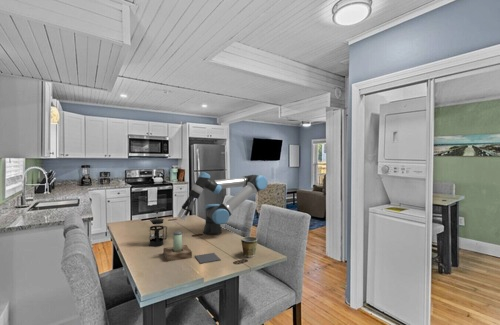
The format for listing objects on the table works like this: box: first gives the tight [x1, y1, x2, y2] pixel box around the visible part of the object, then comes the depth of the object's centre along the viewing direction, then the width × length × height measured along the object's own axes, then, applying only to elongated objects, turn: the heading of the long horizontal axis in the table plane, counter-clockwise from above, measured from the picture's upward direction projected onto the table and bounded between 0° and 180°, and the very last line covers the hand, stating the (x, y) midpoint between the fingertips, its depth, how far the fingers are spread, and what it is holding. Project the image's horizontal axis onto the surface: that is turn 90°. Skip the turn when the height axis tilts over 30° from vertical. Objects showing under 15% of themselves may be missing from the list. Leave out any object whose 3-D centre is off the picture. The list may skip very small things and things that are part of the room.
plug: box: [172, 231, 183, 252], centre depth 152 cm, size 5×5×14 cm
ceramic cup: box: [240, 236, 258, 258], centre depth 156 cm, size 13×10×10 cm
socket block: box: [163, 244, 193, 262], centre depth 152 cm, size 14×14×4 cm
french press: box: [148, 210, 168, 248], centre depth 172 cm, size 12×9×23 cm
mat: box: [194, 252, 222, 265], centre depth 148 cm, size 12×12×1 cm
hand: (180, 218), depth 178 cm, fingers open, 13 cm apart
